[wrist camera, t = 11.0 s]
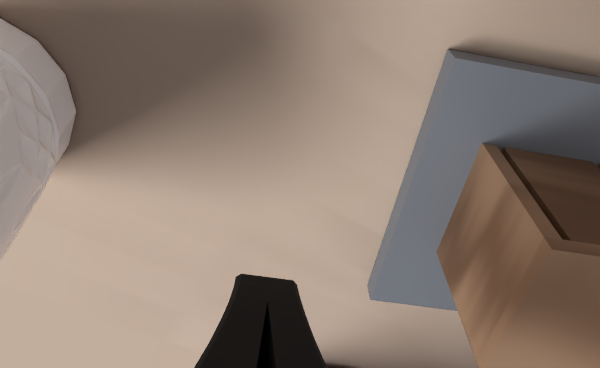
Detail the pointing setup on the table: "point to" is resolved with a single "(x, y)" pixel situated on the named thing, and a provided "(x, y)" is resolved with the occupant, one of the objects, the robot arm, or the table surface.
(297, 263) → the table surface
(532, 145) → the post base
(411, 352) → the table surface
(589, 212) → the sliding lid crate
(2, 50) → the white cup
